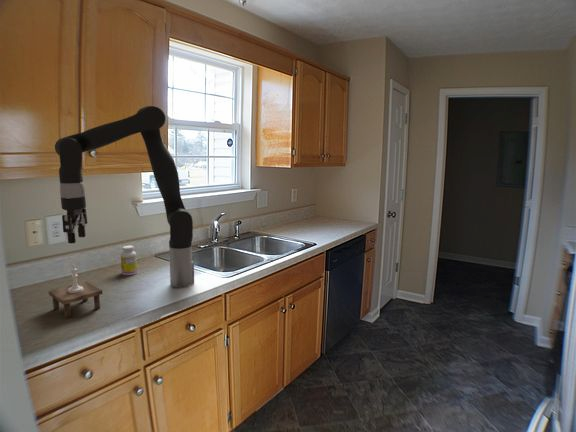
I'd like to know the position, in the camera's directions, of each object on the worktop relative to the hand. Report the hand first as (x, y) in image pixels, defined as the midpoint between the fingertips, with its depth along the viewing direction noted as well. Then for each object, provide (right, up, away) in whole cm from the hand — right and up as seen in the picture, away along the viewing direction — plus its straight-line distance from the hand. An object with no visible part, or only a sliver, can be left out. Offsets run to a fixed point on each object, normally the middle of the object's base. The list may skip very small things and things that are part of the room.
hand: (77, 240), depth 134 cm
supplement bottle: (+2, -18, +40) cm, 44 cm away
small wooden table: (-1, -25, +2) cm, 25 cm away
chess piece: (-1, -18, 0) cm, 18 cm away
